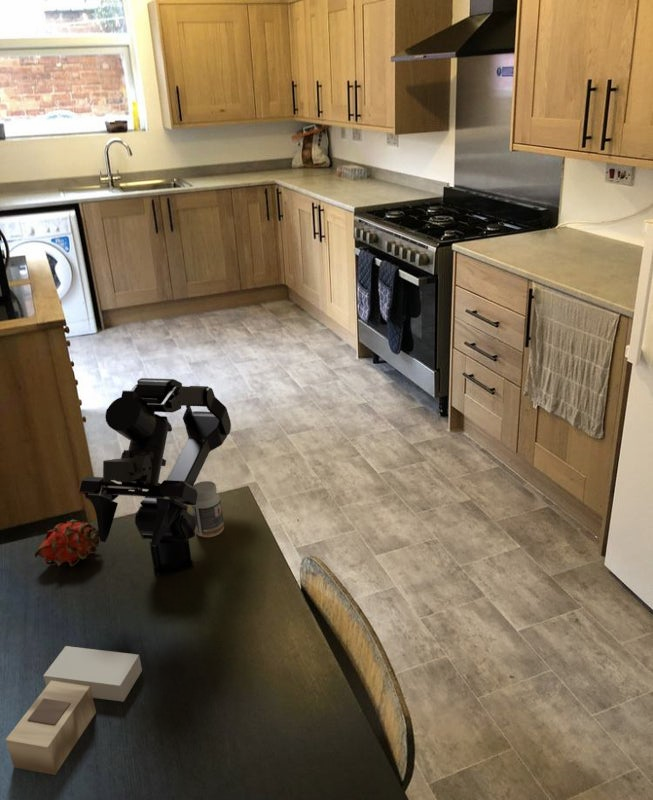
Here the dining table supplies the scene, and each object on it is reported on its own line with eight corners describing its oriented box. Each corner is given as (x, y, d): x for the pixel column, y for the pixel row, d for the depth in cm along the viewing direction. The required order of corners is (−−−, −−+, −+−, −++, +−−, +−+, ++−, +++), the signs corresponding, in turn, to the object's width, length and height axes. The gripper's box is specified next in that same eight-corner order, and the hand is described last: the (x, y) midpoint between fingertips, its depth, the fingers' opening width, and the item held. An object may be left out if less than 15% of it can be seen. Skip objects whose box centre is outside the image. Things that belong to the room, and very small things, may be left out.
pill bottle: (229, 524, 140) (223, 481, 136) (216, 540, 135) (210, 496, 131) (203, 520, 141) (197, 477, 137) (190, 536, 136) (183, 492, 133)
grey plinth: (69, 661, 107) (65, 646, 106) (142, 670, 104) (139, 654, 103) (47, 691, 101) (43, 675, 100) (123, 701, 99) (120, 685, 98)
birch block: (50, 679, 97) (5, 738, 88) (89, 685, 95) (47, 746, 87) (58, 707, 99) (14, 768, 90) (96, 713, 97) (55, 775, 89)
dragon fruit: (111, 558, 134) (48, 585, 130) (97, 520, 137) (35, 545, 133) (104, 543, 126) (36, 571, 123) (89, 503, 130) (23, 529, 126)
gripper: (69, 433, 111) (46, 531, 106) (175, 436, 106) (157, 539, 101) (107, 453, 122) (87, 543, 116) (205, 456, 117) (189, 550, 111)
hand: (128, 543), depth 111 cm, fingers open, 9 cm apart
